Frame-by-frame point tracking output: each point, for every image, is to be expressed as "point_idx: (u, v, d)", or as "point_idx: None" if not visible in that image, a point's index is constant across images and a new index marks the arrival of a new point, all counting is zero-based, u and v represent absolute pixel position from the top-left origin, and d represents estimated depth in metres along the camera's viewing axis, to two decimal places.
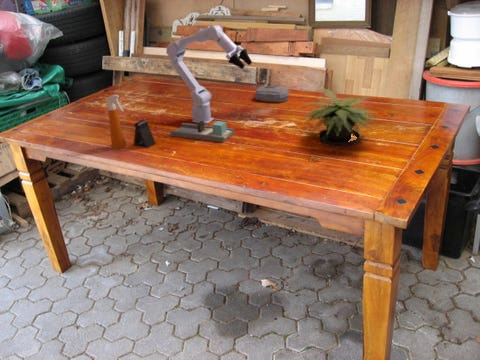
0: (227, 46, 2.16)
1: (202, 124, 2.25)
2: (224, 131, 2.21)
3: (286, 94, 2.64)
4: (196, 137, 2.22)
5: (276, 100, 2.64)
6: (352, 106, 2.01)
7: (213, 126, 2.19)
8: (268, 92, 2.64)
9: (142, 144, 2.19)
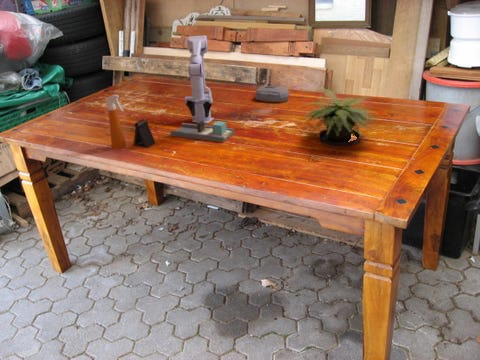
0: None
1: (202, 124, 2.25)
2: (224, 131, 2.21)
3: (286, 94, 2.64)
4: (196, 137, 2.22)
5: (277, 100, 2.64)
6: (352, 106, 2.01)
7: (213, 126, 2.19)
8: (268, 92, 2.64)
9: (142, 144, 2.19)
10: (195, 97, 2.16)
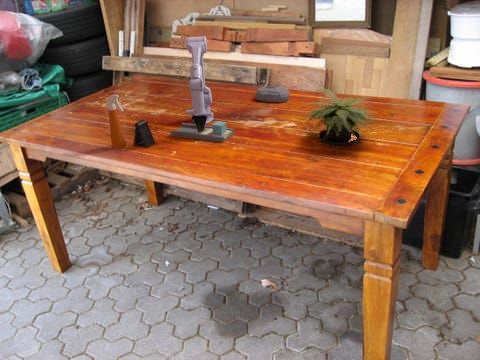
0: None
1: None
2: (224, 131, 2.21)
3: (287, 94, 2.64)
4: (196, 137, 2.22)
5: (277, 100, 2.63)
6: (352, 106, 2.01)
7: (213, 126, 2.19)
8: (269, 92, 2.64)
9: (142, 144, 2.19)
10: (196, 111, 2.19)
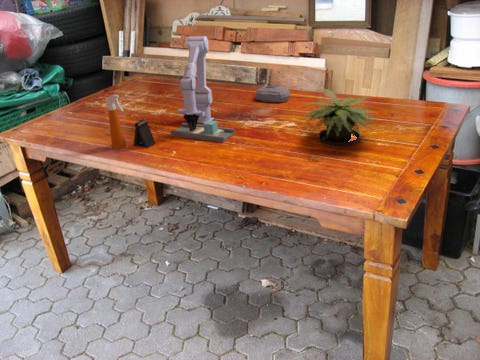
0: None
1: None
2: (215, 130, 2.23)
3: (287, 94, 2.64)
4: (196, 137, 2.22)
5: (277, 100, 2.63)
6: (352, 106, 2.01)
7: (204, 125, 2.21)
8: (269, 92, 2.64)
9: (142, 144, 2.19)
10: (187, 110, 2.21)
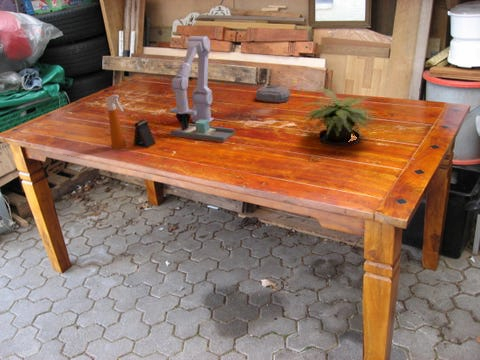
0: None
1: None
2: (207, 129, 2.25)
3: (287, 94, 2.64)
4: (196, 137, 2.22)
5: (277, 100, 2.63)
6: (352, 106, 2.01)
7: (196, 124, 2.23)
8: (269, 92, 2.64)
9: (142, 144, 2.19)
10: (179, 109, 2.23)
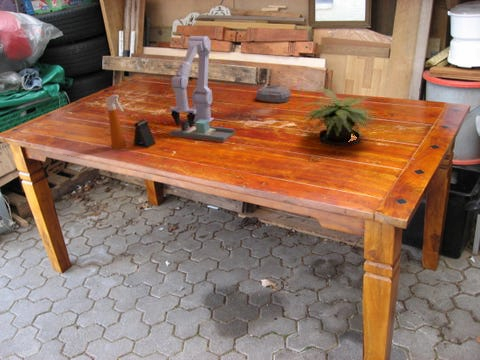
0: None
1: (186, 122, 2.29)
2: (207, 129, 2.25)
3: (287, 94, 2.64)
4: (196, 137, 2.22)
5: (278, 100, 2.63)
6: (352, 106, 2.01)
7: (196, 124, 2.23)
8: (269, 92, 2.63)
9: (142, 144, 2.19)
10: (179, 108, 2.22)
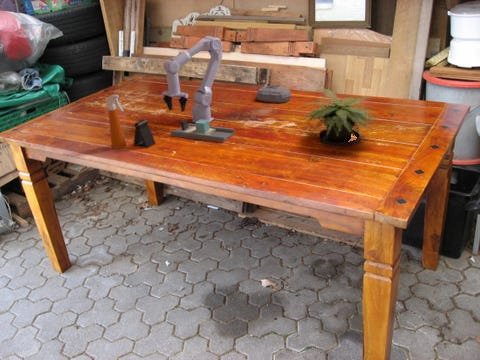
0: None
1: (186, 122, 2.29)
2: (207, 129, 2.25)
3: (288, 94, 2.63)
4: (196, 137, 2.22)
5: (278, 100, 2.63)
6: (352, 106, 2.01)
7: (196, 124, 2.23)
8: (270, 92, 2.63)
9: (142, 144, 2.19)
10: (171, 92, 2.26)
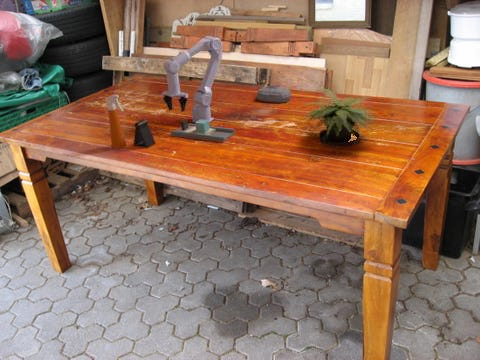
0: None
1: (186, 122, 2.29)
2: (207, 129, 2.25)
3: (288, 94, 2.63)
4: (196, 137, 2.22)
5: (278, 100, 2.63)
6: (352, 106, 2.01)
7: (196, 124, 2.23)
8: (270, 92, 2.63)
9: (142, 144, 2.19)
10: (171, 92, 2.26)
